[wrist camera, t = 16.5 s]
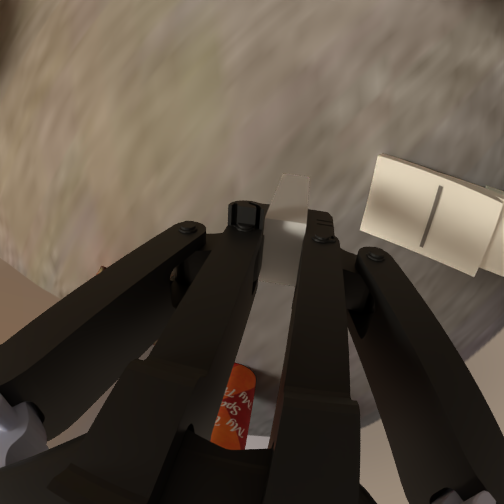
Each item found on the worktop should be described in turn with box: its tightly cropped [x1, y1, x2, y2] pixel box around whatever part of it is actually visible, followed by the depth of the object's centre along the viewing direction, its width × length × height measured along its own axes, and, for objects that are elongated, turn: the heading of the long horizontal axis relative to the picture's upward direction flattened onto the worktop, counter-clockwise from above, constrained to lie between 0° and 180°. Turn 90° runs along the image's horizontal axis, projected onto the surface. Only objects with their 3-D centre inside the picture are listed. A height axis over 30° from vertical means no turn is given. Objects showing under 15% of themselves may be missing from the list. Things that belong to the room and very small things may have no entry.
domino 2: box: [442, 173, 504, 277], centre depth 19 cm, size 6×2×10 cm
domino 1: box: [360, 153, 503, 277], centre depth 20 cm, size 6×2×10 cm
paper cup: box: [210, 363, 256, 450], centre depth 31 cm, size 8×8×14 cm
